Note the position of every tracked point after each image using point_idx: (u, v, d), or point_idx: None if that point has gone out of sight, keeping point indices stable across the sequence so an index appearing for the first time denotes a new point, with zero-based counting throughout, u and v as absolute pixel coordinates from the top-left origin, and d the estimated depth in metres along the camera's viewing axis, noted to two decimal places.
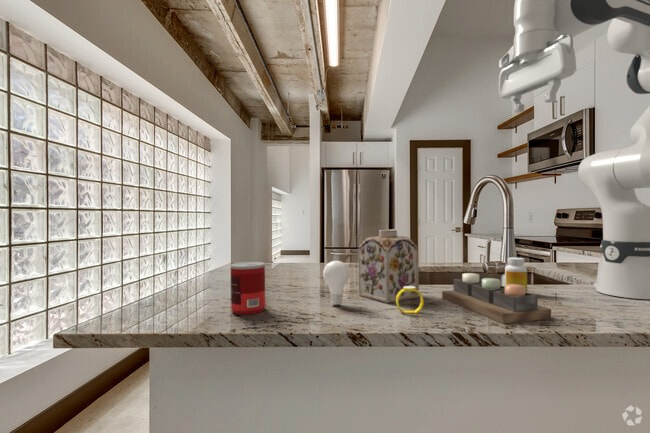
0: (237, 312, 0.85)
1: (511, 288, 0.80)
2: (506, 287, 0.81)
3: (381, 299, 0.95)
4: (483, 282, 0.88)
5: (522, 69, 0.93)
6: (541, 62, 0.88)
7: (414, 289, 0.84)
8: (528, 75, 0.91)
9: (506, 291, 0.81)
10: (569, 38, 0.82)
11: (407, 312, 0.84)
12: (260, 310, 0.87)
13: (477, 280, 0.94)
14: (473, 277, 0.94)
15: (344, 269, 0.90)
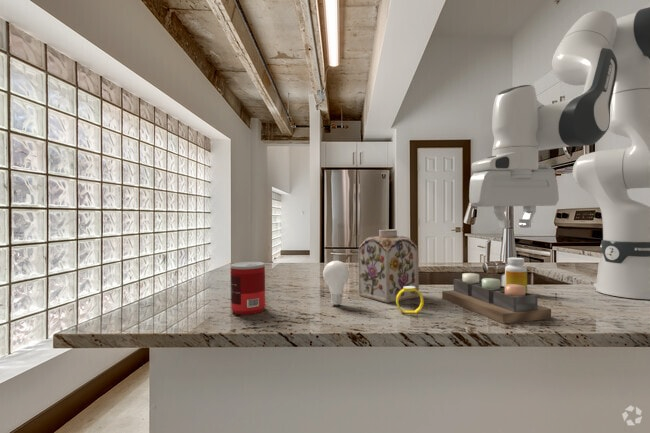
0: (237, 312, 0.85)
1: (511, 288, 0.80)
2: (506, 287, 0.81)
3: (381, 299, 0.95)
4: (483, 282, 0.88)
5: (511, 181, 0.79)
6: (534, 184, 0.80)
7: (414, 289, 0.84)
8: (522, 193, 0.79)
9: (506, 291, 0.81)
10: (554, 171, 0.83)
11: (407, 312, 0.84)
12: (260, 310, 0.87)
13: (477, 280, 0.94)
14: (473, 277, 0.94)
15: (344, 269, 0.90)
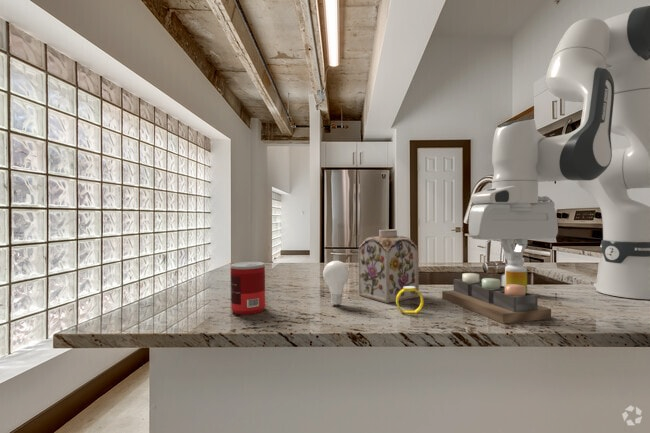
0: (237, 312, 0.85)
1: (511, 288, 0.80)
2: (506, 287, 0.81)
3: (381, 299, 0.95)
4: (483, 282, 0.88)
5: (511, 214, 0.79)
6: (534, 217, 0.80)
7: (414, 289, 0.84)
8: (521, 226, 0.79)
9: (506, 291, 0.81)
10: (553, 203, 0.83)
11: (407, 312, 0.84)
12: (260, 310, 0.87)
13: (477, 280, 0.94)
14: (473, 277, 0.94)
15: (344, 269, 0.90)
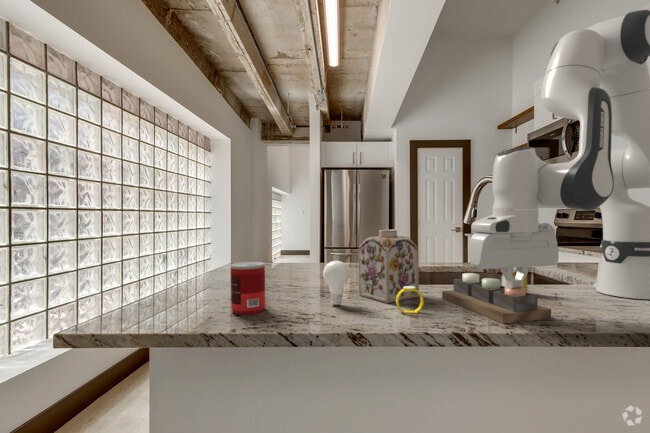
0: (237, 312, 0.85)
1: (511, 290, 0.80)
2: (506, 289, 0.81)
3: (381, 299, 0.95)
4: (483, 282, 0.88)
5: (512, 243, 0.79)
6: (534, 245, 0.80)
7: (414, 289, 0.84)
8: (522, 254, 0.79)
9: (506, 293, 0.81)
10: (553, 230, 0.83)
11: (407, 312, 0.84)
12: (260, 310, 0.87)
13: (477, 280, 0.94)
14: (473, 277, 0.94)
15: (344, 269, 0.90)
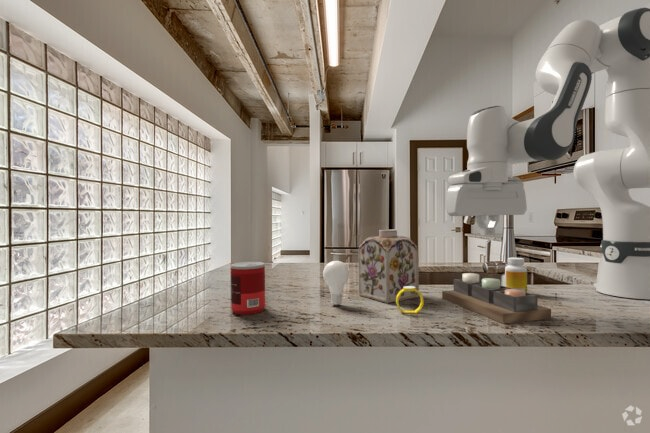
0: (237, 312, 0.85)
1: (511, 293, 0.80)
2: (506, 292, 0.81)
3: (381, 299, 0.95)
4: (483, 282, 0.88)
5: (484, 193, 0.87)
6: (505, 195, 0.89)
7: (414, 289, 0.84)
8: (493, 203, 0.87)
9: None
10: (522, 183, 0.91)
11: (407, 312, 0.84)
12: (260, 310, 0.87)
13: (477, 280, 0.94)
14: (473, 277, 0.94)
15: (344, 269, 0.90)
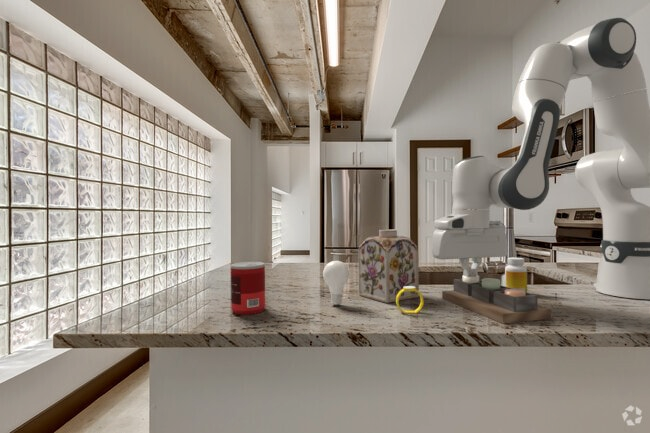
0: (237, 312, 0.85)
1: (511, 293, 0.80)
2: (506, 292, 0.81)
3: (381, 299, 0.95)
4: (483, 282, 0.88)
5: (467, 238, 0.93)
6: (487, 239, 0.95)
7: (414, 289, 0.84)
8: (475, 247, 0.94)
9: None
10: (504, 227, 0.97)
11: (407, 312, 0.84)
12: (260, 310, 0.87)
13: (477, 281, 0.94)
14: (473, 278, 0.94)
15: (344, 269, 0.90)
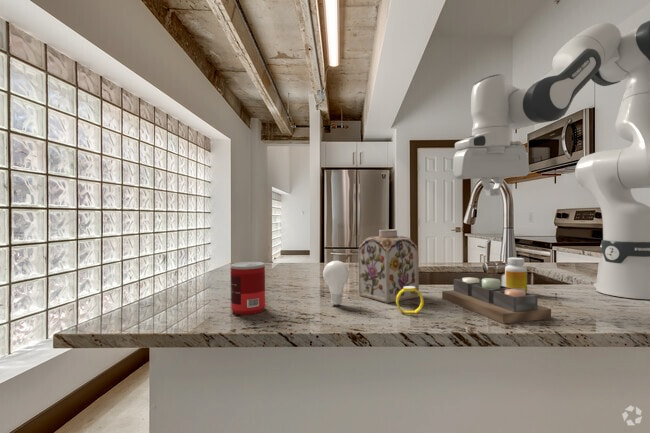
0: (237, 312, 0.85)
1: (511, 293, 0.80)
2: (506, 292, 0.81)
3: (381, 299, 0.95)
4: (483, 282, 0.88)
5: (488, 157, 0.94)
6: (508, 158, 0.95)
7: (414, 289, 0.84)
8: (497, 166, 0.94)
9: None
10: (524, 147, 0.98)
11: (407, 312, 0.84)
12: (260, 310, 0.87)
13: None
14: (473, 281, 0.94)
15: (344, 269, 0.90)
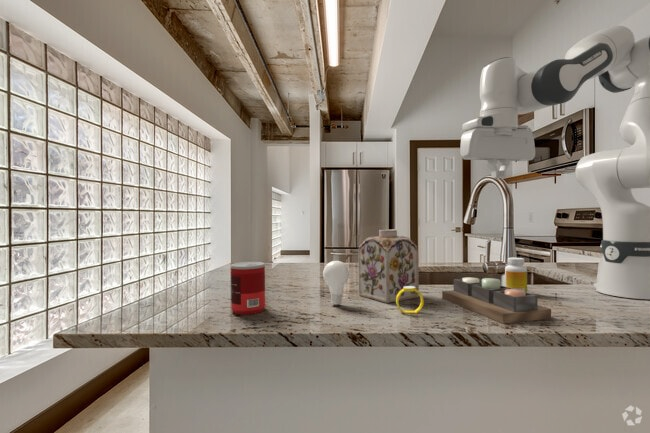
0: (237, 312, 0.85)
1: (511, 293, 0.80)
2: (506, 292, 0.81)
3: (381, 299, 0.95)
4: (483, 282, 0.88)
5: (495, 138, 0.94)
6: (515, 141, 0.96)
7: (414, 289, 0.84)
8: (504, 148, 0.95)
9: None
10: (531, 131, 0.99)
11: (407, 312, 0.84)
12: (260, 310, 0.87)
13: None
14: (473, 281, 0.94)
15: (344, 269, 0.90)
